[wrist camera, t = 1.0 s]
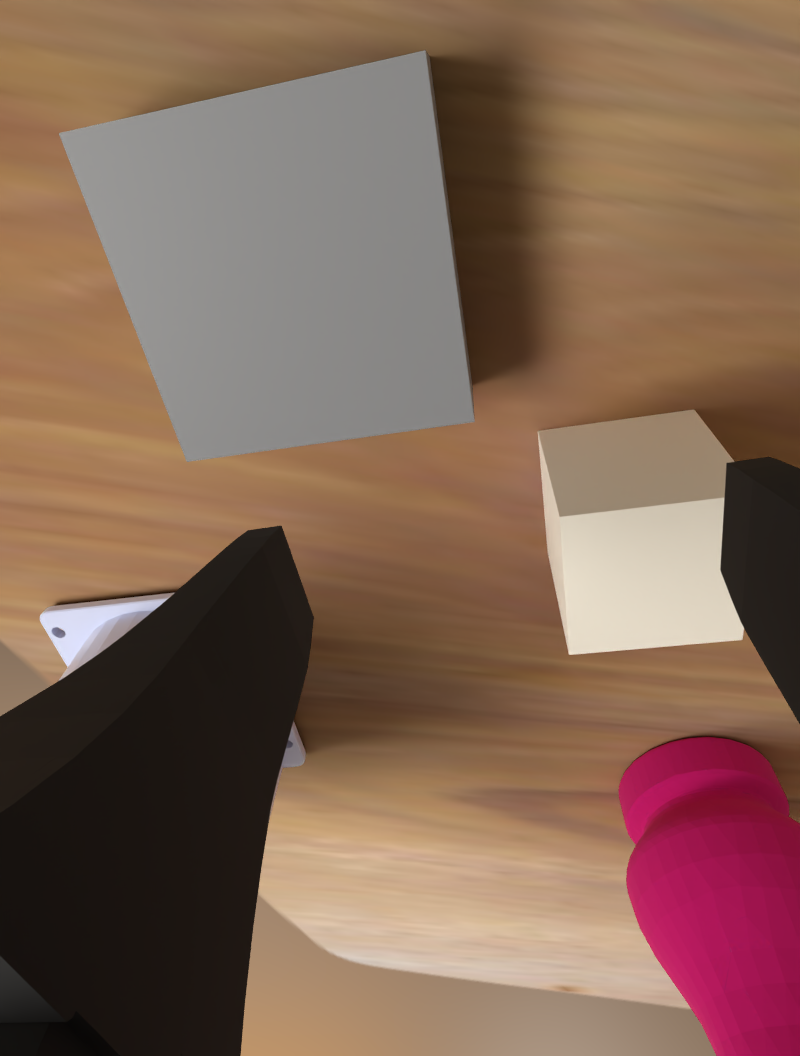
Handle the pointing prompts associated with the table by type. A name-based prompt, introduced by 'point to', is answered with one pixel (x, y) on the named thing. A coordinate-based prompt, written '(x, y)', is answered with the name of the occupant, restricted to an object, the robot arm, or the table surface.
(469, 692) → the table surface
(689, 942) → the pepper mill
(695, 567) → the cream block
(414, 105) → the gray base block
